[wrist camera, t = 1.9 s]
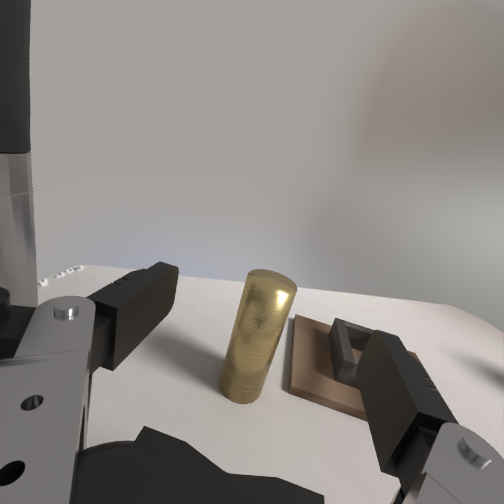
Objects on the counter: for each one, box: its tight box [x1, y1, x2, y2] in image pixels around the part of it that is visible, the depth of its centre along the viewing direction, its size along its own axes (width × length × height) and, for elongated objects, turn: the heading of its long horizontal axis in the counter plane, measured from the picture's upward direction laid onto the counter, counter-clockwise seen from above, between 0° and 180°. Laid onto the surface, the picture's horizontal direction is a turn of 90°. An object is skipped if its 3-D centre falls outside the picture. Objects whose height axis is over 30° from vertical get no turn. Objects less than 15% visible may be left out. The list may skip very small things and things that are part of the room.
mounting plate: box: [289, 314, 438, 421], centre depth 31 cm, size 18×14×4 cm
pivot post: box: [219, 269, 297, 404], centre depth 24 cm, size 4×4×12 cm
